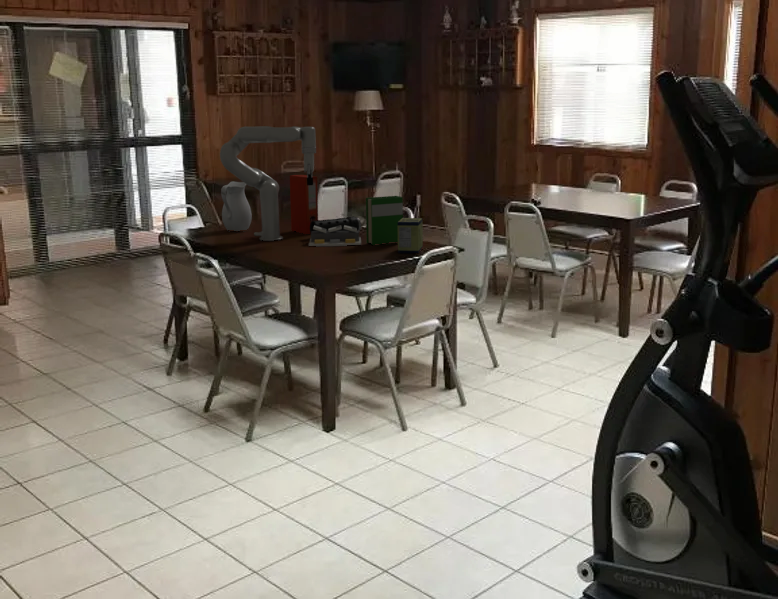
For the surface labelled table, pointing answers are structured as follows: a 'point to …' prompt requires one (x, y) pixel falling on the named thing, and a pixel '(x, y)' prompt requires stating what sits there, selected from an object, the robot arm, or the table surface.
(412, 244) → the protein box
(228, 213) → the pitcher
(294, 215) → the file binder
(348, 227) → the switch right
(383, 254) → the table surface
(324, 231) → the switch left
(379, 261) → the table surface
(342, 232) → the panel
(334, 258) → the table surface
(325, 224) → the muzzle brake
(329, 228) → the switch middle
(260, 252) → the table surface
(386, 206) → the hardback book
